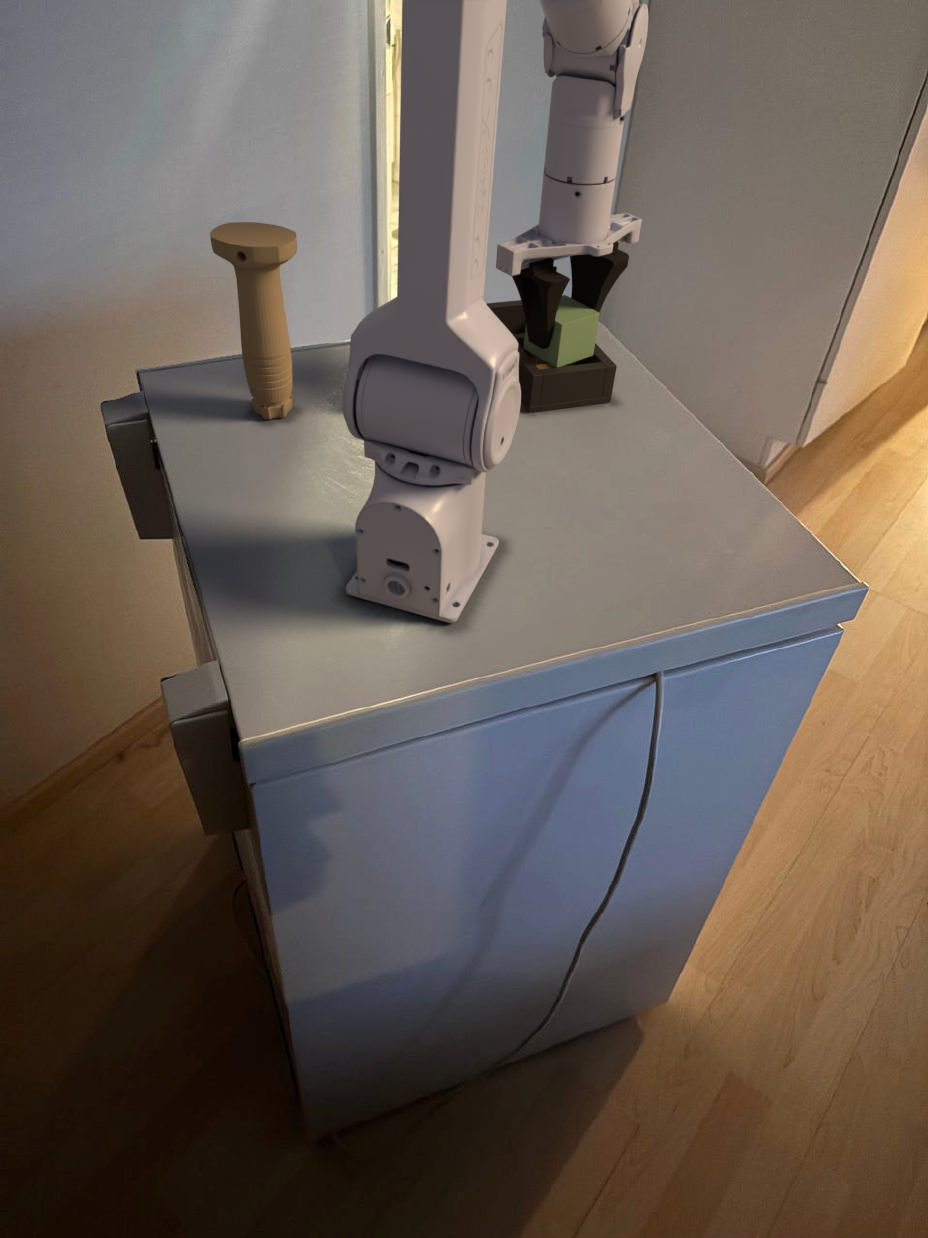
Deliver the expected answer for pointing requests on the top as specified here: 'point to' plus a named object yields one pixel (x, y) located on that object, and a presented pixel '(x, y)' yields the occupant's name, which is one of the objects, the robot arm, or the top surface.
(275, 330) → the handle
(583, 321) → the green cube
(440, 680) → the top surface
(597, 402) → the holder
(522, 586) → the top surface
